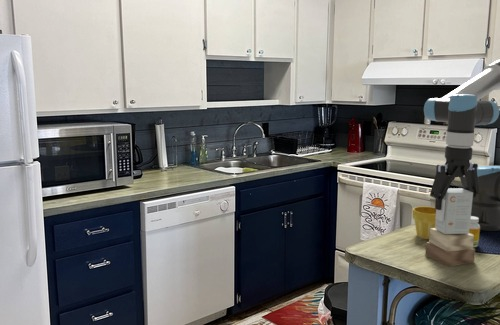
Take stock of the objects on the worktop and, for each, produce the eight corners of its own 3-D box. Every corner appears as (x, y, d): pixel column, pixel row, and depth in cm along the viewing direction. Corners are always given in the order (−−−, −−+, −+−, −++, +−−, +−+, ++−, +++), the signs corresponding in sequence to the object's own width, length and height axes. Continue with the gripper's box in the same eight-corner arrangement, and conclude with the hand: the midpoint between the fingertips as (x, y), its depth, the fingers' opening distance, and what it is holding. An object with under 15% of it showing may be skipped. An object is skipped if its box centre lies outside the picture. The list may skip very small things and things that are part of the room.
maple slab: (453, 239, 158) (454, 226, 157) (472, 249, 149) (474, 235, 149) (429, 241, 156) (430, 228, 155) (447, 251, 147) (448, 237, 146)
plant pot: (405, 235, 175) (407, 209, 173) (420, 230, 181) (422, 204, 180) (432, 243, 167) (434, 215, 165) (447, 237, 174) (449, 210, 172)
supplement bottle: (457, 243, 167) (459, 216, 166) (468, 241, 169) (471, 214, 168) (470, 248, 162) (472, 220, 161) (481, 246, 164) (484, 218, 163)
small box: (458, 227, 155) (462, 187, 153) (469, 234, 149) (474, 192, 147) (434, 228, 154) (437, 187, 152) (444, 234, 148) (448, 192, 146)
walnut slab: (450, 252, 159) (451, 239, 159) (473, 263, 150) (475, 249, 150) (425, 255, 156) (426, 242, 155) (448, 267, 147) (449, 252, 146)
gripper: (477, 143, 154) (471, 212, 158) (420, 145, 146) (415, 218, 150) (497, 146, 147) (490, 218, 151) (438, 149, 139) (432, 225, 143)
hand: (452, 218), depth 151 cm, fingers open, 9 cm apart
